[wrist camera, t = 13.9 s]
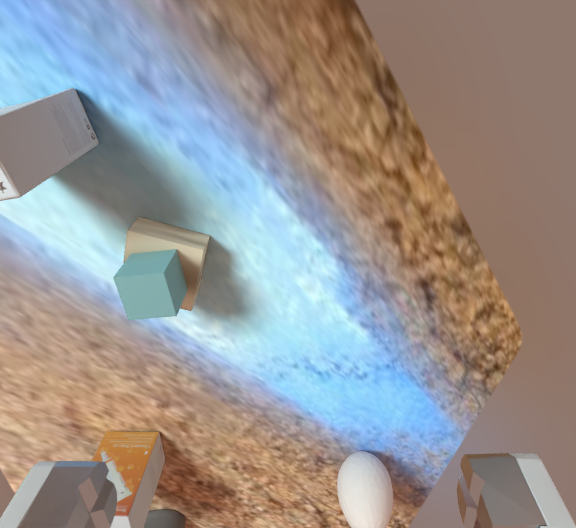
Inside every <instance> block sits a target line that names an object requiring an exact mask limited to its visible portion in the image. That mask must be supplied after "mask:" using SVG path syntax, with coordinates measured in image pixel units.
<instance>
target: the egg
mask: <svg viewBox="0 0 576 528" xmlns="http://www.w3.org/2000/svg"><path fill="white" fill-rule="evenodd" d="M337 490H338V498H339V502H340V506H341V509H342V511H343V513H344V515H345V518H346V520H347V521H348V523H349V524H350V526H351V527H352V528H386V526H387V524H388V522H389V519H390V516H391V512H392V507H393V490H392V484H391V479H390V476H389V474H388V471H387V469H386V468H385V466H384V465H383V464H382V462H381V461H380V460H379V459H378V458H377V457H376V456H374V455H373V454H371V453H368V452H365V451H358V452H355V453H353V454H351V455H350V456H349V457H347V458H346V460H345V461H344V463H343V464H342V466H341V468H340V471H339V474H338V480H337Z"/></svg>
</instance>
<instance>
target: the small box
mask: <svg viewBox="0 0 576 528" xmlns="http://www.w3.org/2000/svg"><path fill="white" fill-rule="evenodd" d="M92 461H100V462H105V463H106V465H107V467H108V470H109V472H108V475H107V477H106V478H107V479H108V480H110V481H111V482H112V483H114V485H115V488H116V491H117V506H116V513H115V516H114V519H113V522H112V525H111V527H110V528H144V524H145V521H146V518H147V515H148V512H149V509H150V506H151V503H152V500H153V497H154V494H155V491H156V488H157V485H158V482H159V479H160V475H161V472H162V469H163V466H164V463H165V456H164V451H163V447H162V442H161V438H160V433H159V432H125V431H106V432H105V434H104V436H103V438H102V440H101V442H100V444H99V446H98V448H97V450H96V452H95V454H94V456H93V458H92Z"/></svg>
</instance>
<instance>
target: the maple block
mask: <svg viewBox="0 0 576 528" xmlns="http://www.w3.org/2000/svg"><path fill="white" fill-rule="evenodd" d="M209 238H210V235H207V234H203V233H199V232H195V231H191V230H188V229H184V228H180V227H176V226H172V225H168V224H164V223H160V222H157V221H153V220H149V219H145V218H141V217H138V218H137V220H136V221H135V222H134V223H133V224H132V225H131V227H130V228H129V229H128V230H127V237H126V246H125V255H124V263H125V261H126V260H127V259H128V257H129V256H130V254H133V253H143V252H153V251H163V250H173V249H177V251H178V255H179V259H180V262H181V266H182V270H183V273H184V277H185V281H186V284H187V288H188V291H187V293H186V295H185V298H184V300H183V302H182V304H181V307H180V308H181V309H185V310H189V311H191V310H192V308H193V305H194V303H195V300H196V298H197V295H198V291H199V287H200V282H201V277H202V272H203V267H204V263H205V258H206V253H207V248H208V243H209Z"/></svg>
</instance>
